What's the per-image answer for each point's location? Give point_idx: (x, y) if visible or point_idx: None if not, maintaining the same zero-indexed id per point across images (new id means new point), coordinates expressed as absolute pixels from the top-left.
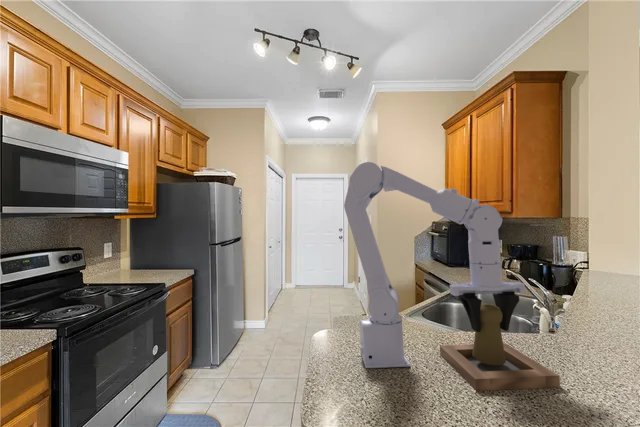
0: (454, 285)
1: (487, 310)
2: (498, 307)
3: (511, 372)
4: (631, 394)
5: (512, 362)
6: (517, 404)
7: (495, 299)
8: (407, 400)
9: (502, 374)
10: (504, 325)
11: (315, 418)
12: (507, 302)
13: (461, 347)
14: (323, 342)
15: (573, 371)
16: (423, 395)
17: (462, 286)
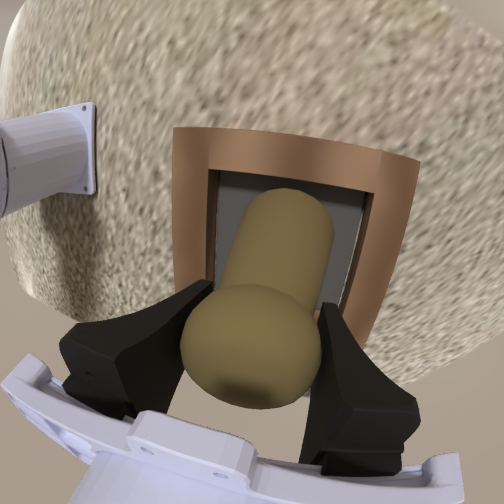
0: (20, 408)
1: (214, 396)
2: (297, 397)
3: None
4: (434, 369)
5: (358, 241)
6: None
7: (332, 391)
8: (85, 293)
9: None
10: None
11: (22, 287)
12: (301, 455)
13: (238, 153)
14: (6, 67)
15: (451, 299)
16: (103, 290)
17: (53, 439)
